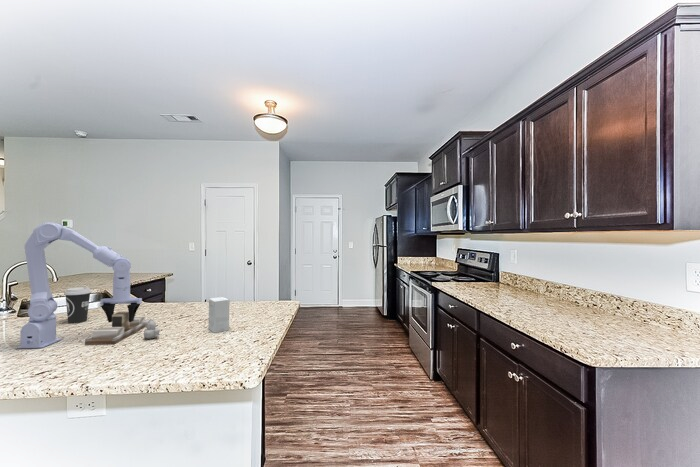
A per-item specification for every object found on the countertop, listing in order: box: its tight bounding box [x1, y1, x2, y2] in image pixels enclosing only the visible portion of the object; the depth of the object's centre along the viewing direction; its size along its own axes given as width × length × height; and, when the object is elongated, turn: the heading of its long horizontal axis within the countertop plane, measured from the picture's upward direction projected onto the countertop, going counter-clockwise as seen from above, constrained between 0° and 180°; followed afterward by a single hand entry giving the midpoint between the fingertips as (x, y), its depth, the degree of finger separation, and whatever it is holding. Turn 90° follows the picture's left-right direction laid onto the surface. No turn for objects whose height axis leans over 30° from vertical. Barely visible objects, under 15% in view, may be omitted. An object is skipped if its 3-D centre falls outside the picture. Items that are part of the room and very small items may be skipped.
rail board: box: [84, 315, 150, 346], centre depth 129 cm, size 26×10×4 cm, turn 7°
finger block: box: [111, 311, 130, 331], centre depth 129 cm, size 6×4×7 cm
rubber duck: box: [143, 317, 161, 340], centre depth 124 cm, size 5×7×8 cm
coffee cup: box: [63, 286, 92, 324], centre depth 146 cm, size 10×10×15 cm
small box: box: [207, 296, 230, 333], centre depth 137 cm, size 8×6×13 cm
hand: (121, 321), depth 129 cm, fingers open, 7 cm apart
